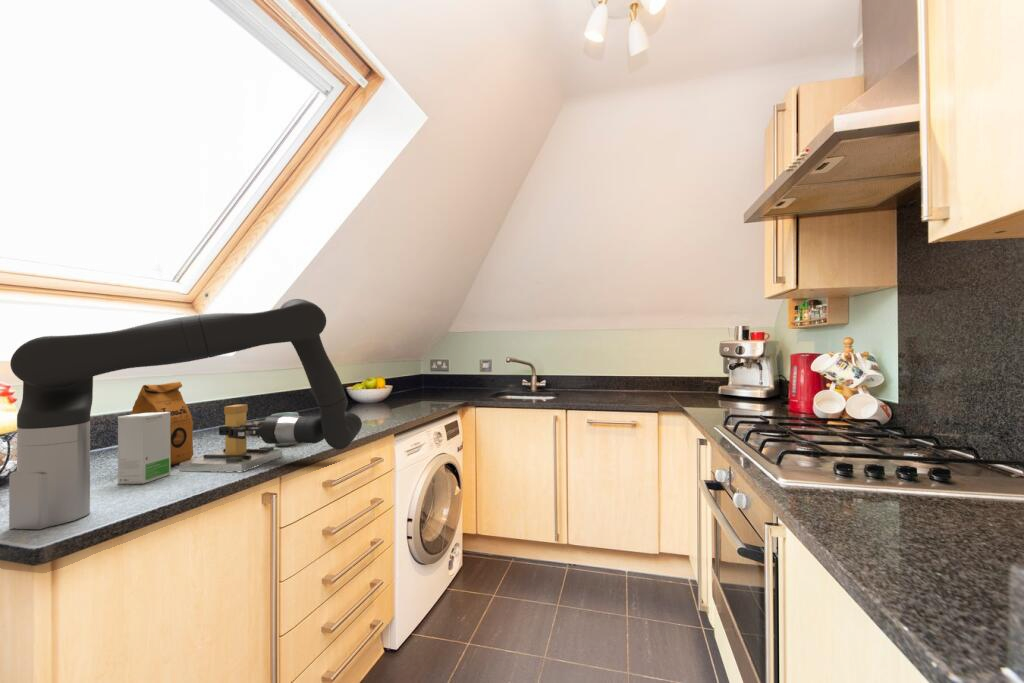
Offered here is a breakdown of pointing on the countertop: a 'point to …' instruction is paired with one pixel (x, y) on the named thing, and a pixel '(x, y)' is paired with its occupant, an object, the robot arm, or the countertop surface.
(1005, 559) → the countertop surface
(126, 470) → the skincare box
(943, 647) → the countertop surface
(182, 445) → the coffee package
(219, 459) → the plate
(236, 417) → the handle
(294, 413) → the cup
